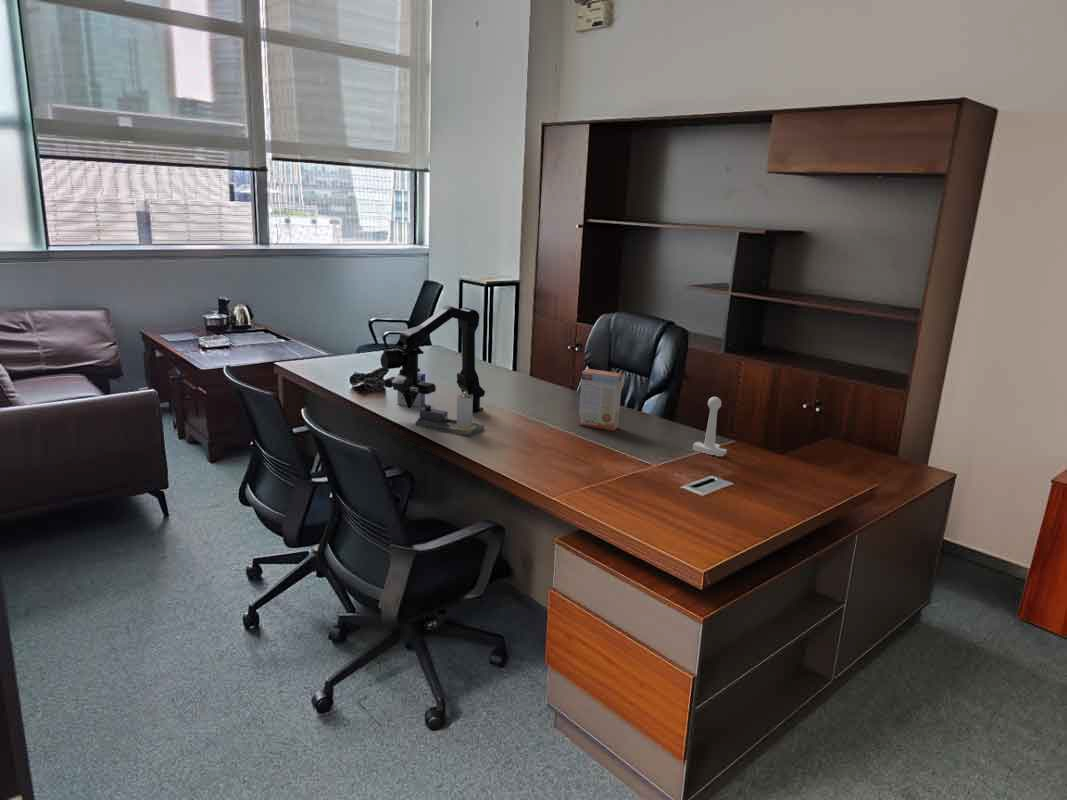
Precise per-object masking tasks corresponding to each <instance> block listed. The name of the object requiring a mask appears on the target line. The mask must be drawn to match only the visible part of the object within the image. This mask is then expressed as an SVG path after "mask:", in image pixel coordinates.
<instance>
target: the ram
mask: <svg viewBox="0 0 1067 800" xmlns="http://www.w3.org/2000/svg"><path fill="white" fill-rule="evenodd" d="M448 413H449V412H448V411H446V410H445V411H444V410H441V409H435V408H432V405H430V404H424V407H423V408H421V409H419V418H422V419H427V420H432V421H437V422H442V423H444V422H446V421H447V418H448V415H449V414H448Z"/></svg>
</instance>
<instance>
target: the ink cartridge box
mask: <svg viewBox="0 0 1067 800" xmlns="http://www.w3.org/2000/svg"><path fill="white" fill-rule="evenodd" d="M397 376H399V373H398V374H397ZM418 379H419V380H420V382H419V383H418V384H423V383H426V373H419V372H418ZM425 402H426V394H422V393H419V394H418V395H417V397H416V399H415V401H414V403H413V406H412V407H422V406H423V405H426V403H425ZM397 405H405V406H407V404H406V401H405V398H404V396H403V394H402V393H401V392H399V391H398V390H397Z"/></svg>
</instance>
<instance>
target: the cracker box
mask: <svg viewBox="0 0 1067 800" xmlns="http://www.w3.org/2000/svg"><path fill="white" fill-rule="evenodd" d="M580 380H581V381H580V394H579V395H580V396H579V397H580V398H579V408H578V409H579V411H578V412H579V413H578V426H582V427H589V428H595V429H600V430H605V431H606V430H607V431H611V432H613V431H615V430H616V429H618V428H619V420H620V409H621V408H620V407H621V398H622V397H621V396H622V384H623V383H622V381H623V373H620V372H612V371H608V370H607V371H606V370H600V369H599V370H598V369H593V368H586V369H585V370H582V371H581V379H580Z"/></svg>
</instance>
